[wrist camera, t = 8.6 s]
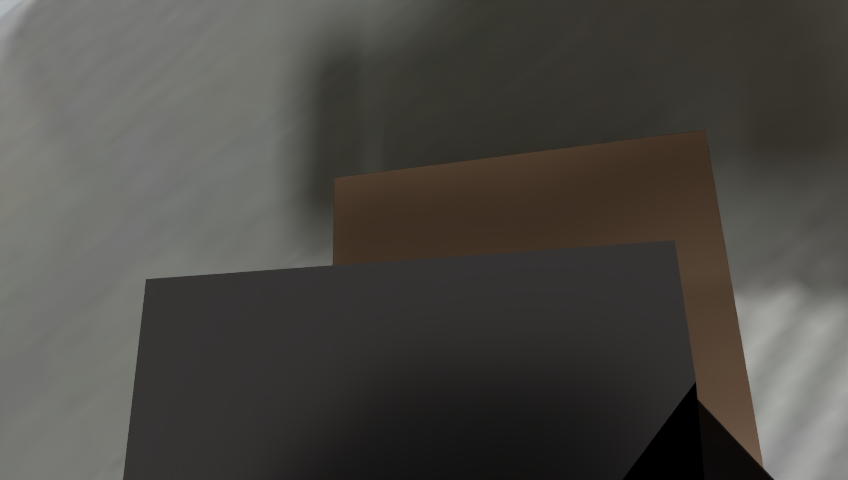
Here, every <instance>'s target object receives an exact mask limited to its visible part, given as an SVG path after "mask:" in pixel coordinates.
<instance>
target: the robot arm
mask: <svg viewBox="0 0 848 480" xmlns="http://www.w3.org/2000/svg"><path fill="white" fill-rule="evenodd" d="M698 410H699V421H700V433H701V445H702V456H703V468H704V480H774V479H773V478H772V477H771V476H770V475H769V474H768V473H767V472H766V471H765V470H764V468H763V467H762V466H761V465H760V464H759V463H758V462H757V461H756V460H755V459H754V458H753V457H752V456H751V455H750V454H749V453H748V452H747V450H746V449H745V448H744V447H743V446H742V445H741V444H740V443H739V442H738V441H737V440H736V439H735V438H734V437H733V436H732V435H731V433H730V432H729V431H728V430H727V429H726V428H725V427H724V426H723V425H722V424H721V423H720V422H719V421H718V420H717V419H716V418H715V417H714V415H713V414H712V413H711V412H710V411H709V410H708V409H707V408H706V407H705V406H704V405H703V404H702V403H701V402H700V401H699V400H698Z"/></svg>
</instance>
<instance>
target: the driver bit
mask: <svg viewBox="0 0 848 480" xmlns="http://www.w3.org/2000/svg"><path fill="white" fill-rule="evenodd" d="M123 480H704V468H703V456H702V445H701V433H700V421H699V410H698V398H697V386H696V378H695V371H694V364H693V358H692V351H691V344H690V338H689V331H688V325H687V318H686V311H685V305H684V298H683V291H682V285H681V278H680V272H679V265H678V258H677V252H676V245H675V240H670V241H657V242H643V243H630V244H616V245H603V246H589V247H576V248H562V249H549V250H535V251H522V252H508V253H495V254H481V255H468V256H454V257H441V258H427V259H414V260H400V261H387V262H373V263H360V264H346V265H333V266H319V267H306V268H292V269H279V270H265V271H252V272H238V273H225V274H211V275H198V276H184V277H171V278H157V279H146V285H145V294H144V303H143V312H142V320H141V329H140V338H139V346H138V355H137V364H136V372H135V381H134V390H133V399H132V407H131V416H130V425H129V433H128V442H127V451H126V460H125V468H124V477H123Z"/></svg>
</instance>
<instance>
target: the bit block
mask: <svg viewBox="0 0 848 480" xmlns="http://www.w3.org/2000/svg"><path fill="white" fill-rule="evenodd" d="M670 240H675V245H676V252H677V258H678V265H679V272H680V278H681V285H682V291H683V298H684V305H685V311H686V318H687V325H688V331H689V338H690V344H691V351H692V358H693V364H694V371H695V378H696V386H697V398H698V400H699V401H700V402H701V403H702V404H703V405H704V406H705V407H706V408H707V409H708V410H709V411H710V412H711V413H712V414H713V415H714V417H715V418H716V419H717V420H718V421H719V422H720V423H721V424H722V425H723V426H724V427H725V428H726V429H727V430H728V431H729V432H730V433H731V435H732V436H733V437H734V438H735V439H736V440H737V441H738V442H739V443H740V444H741V445H742V446H743V447H744V448H745V449H746V450H747V452H748V453H749V454H750V455H751V456H752V457H753V458H754V459H755V460H756V461H757V462H758V463H759V464H760V465H761V466H762V467H763V463H762V457H761V451H760V445H759V439H758V434H757V428H756V422H755V416H754V410H753V405H752V399H751V393H750V387H749V382H748V376H747V370H746V364H745V358H744V353H743V347H742V341H741V335H740V330H739V324H738V318H737V312H736V306H735V301H734V295H733V289H732V283H731V278H730V272H729V266H728V260H727V254H726V249H725V243H724V237H723V231H722V226H721V220H720V214H719V208H718V202H717V197H716V191H715V185H714V179H713V174H712V168H711V162H710V156H709V150H708V145H707V139H706V133H705V130H700V131H692V132H684V133H676V134H669V135H661V136H653V137H646V138H638V139H630V140H622V141H615V142H607V143H599V144H592V145H584V146H576V147H568V148H561V149H553V150H545V151H538V152H530V153H522V154H514V155H507V156H499V157H491V158H484V159H476V160H468V161H460V162H453V163H445V164H437V165H430V166H422V167H414V168H406V169H399V170H391V171H383V172H376V173H368V174H360V175H352V176H345V177H337V178H335V183H334V233H333V265H346V264H360V263H373V262H387V261H400V260H414V259H427V258H441V257H454V256H468V255H481V254H495V253H508V252H522V251H535V250H549V249H562V248H576V247H589V246H603V245H616V244H630V243H643V242H657V241H670Z"/></svg>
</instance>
